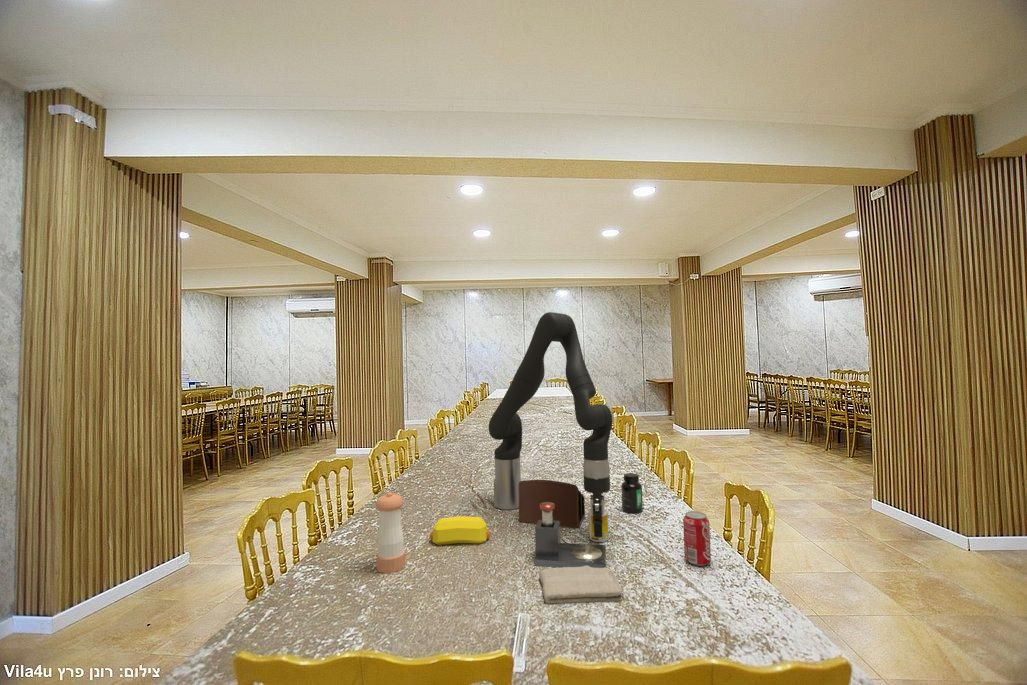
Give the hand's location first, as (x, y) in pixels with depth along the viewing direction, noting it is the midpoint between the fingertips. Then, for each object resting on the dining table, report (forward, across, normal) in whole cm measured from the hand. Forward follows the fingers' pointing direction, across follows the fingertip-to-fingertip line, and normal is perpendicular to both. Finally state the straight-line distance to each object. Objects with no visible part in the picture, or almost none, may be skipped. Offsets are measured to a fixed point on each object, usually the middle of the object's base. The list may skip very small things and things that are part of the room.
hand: (598, 532), depth 131 cm
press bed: (+2, +13, -7) cm, 15 cm away
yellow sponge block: (+2, +6, -40) cm, 41 cm away
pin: (-4, +13, -13) cm, 19 cm away
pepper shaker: (+2, +24, -53) cm, 58 cm away
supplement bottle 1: (+2, 0, 0) cm, 2 cm away
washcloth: (+3, +28, -4) cm, 29 cm away
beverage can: (+2, +11, +25) cm, 27 cm away
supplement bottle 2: (+2, -25, +11) cm, 27 cm away
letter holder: (+2, -14, -15) cm, 20 cm away
